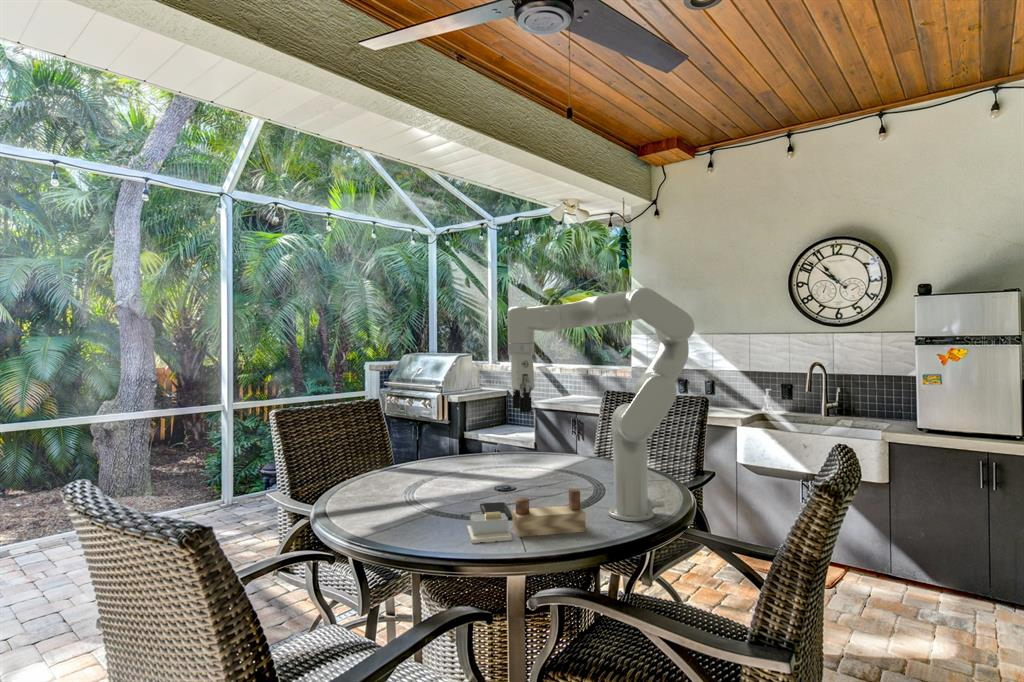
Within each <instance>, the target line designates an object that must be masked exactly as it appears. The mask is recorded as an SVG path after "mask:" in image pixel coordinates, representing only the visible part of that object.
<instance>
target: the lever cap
mask: <svg viewBox="0 0 1024 682" xmlns="http://www.w3.org/2000/svg"><path fill="white" fill-rule="evenodd" d="M469 518H470V519H469V520H470V525H471V531H472V534H473V536H475V535H488V534H500V533H508V531H509V520H508V518H507V517H506V515H505V513H500V511H499V512H485V514H473V515H472V514H471V515H470V517H469ZM470 525H469V526H470Z"/></svg>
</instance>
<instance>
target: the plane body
mask: <svg viewBox="0 0 1024 682" xmlns="http://www.w3.org/2000/svg"><path fill="white" fill-rule="evenodd" d="M511 514H512V530H513V531H514V533H515V535H516V534H517V535H516V536H517V537H518V538H521V537H522V538H523V537H524V536H525V537H534V535H535V537H536V535H537V536H546V535H547V536H548V535H549V534H550V535H559V534H570V533H571V534H573V533H583V532H587V531H586V529H587V528H586V524H587V523H586V512H585V510H583V509H582V508H581V490H579V488H571V489H568V505H559V506H546V507H544V506H543V507H533V508H530V498H528V497H517V498H515V509H512V512H511Z"/></svg>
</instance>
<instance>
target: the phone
mask: <svg viewBox="0 0 1024 682" xmlns="http://www.w3.org/2000/svg"><path fill="white" fill-rule="evenodd" d="M479 509H480V511H481V514H482V513H483V514H485V512H499V511H500V513H505V515H506V517H507V518H508V519H509V520H512V519H513V513H512V512H511V511H510V509H509V507H508V504H507V503H506V502H505V501H504V502H502V501H499V502H497V501H496V502H482V503H480V504H479ZM483 514H482V515H483ZM511 518H512V519H511Z"/></svg>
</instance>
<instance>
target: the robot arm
mask: <svg viewBox="0 0 1024 682" xmlns="http://www.w3.org/2000/svg"><path fill="white" fill-rule="evenodd" d="M506 314H507V315H506V316H507V320H506V321H507V356H511V357H510V358H511V359H510V363H511V364H510V366H511V367H510V371H511V372H510V374H511V375H510V376H511V377H510V379H511V386H512V387H511V388H512V408H513V409H519V413H531V412H532V393H531V392H532V391H533V390H534V389H535V374H534V373H535V371H534V362H533V361H534V359H533V356H534V355H535V331H540V332H543V333H551V332H557V331H561V330H568V329H575V328H576V329H577V328H583V327H584V328H586V327H598V326H604V325H613V324H618V323H625V322H630V321H631V322H632V321H637V320H642V321H643V322H645V324H647V325H649V326H650V327H651V328H653V329H654V330H655V334H656V336H657V338H658V349H657V350H656V353H655V355H654V357H653V358H652V360H651V361H650V363H649V364H648V365H647V367H646V369H645V370H644V371H643V373H642V374H641V375H640V377H639V378H638V380H637V381H636V383H635V384H634V385H635V386H634V394H635V396H634V398H633V399H632V401H631V402H630V403H625V402H624V403H623V404H620V405H619V406H617V407H616V409H614V411H613V413H612V415H611V425H610V426H611V433H612V434H611V435H612V450H613V451H612V452H613V453H612V454H613V455H612V456H613V462H612V464H613V506H611V507H610V508H609V509H608V515H609V516H610V517H611V518H614V519H616V520H621V521H626V522H627V521H628V522H643V521H648V520H652V518H654V517H655V516H654V515H655V512H654V509H655V508H665V501H664V500H662V499H661V500H656V499H650V498H649V482H648V480H649V478H648V475H649V474H648V472H649V471H648V469H649V468H648V458H649V457H648V443H647V440H648V439H649V438H650V437H651V436H652V435H653V434H654V433H655V432H656V430H657V428H658V427H659V426H660V424H661V423H662V421H663V420H664V418H665V417H666V416H667V414H668V412H670V409H671V408H672V407H673V405H674V403H675V401H676V398H677V387H676V384H675V382H676V381H677V380H678V378H679V376H680V374H681V373H682V371H683V369H684V367H685V365H686V364H687V361H688V358H689V354H690V352H689V351H690V349H689V339H690V338H691V336H692V335H693V333H694V331H695V322H694V319H693V317H692V316H691V315H690V314H689V313H688V312H687V311H685V310H684V309H682V308H681V307H679V306H677V305H676V304H675V303H673V302H672V301H670V300H669V299H667V298H666V297H664V296H663V295H661V294H660V293H658V292H656V291H655V290H653V289H652V288H648V287H645V286H644V287H643V286H642V287H639V288H636V289H632V290H631V289H630V290H625V291H619V292H614V293H613V292H612V293H605V294H599V295H594V296H589V297H586V298H584V299H581V300H577V301H574V302H568V303H562V304H556V305H552V304H544V305H543V304H542V305H538V306H526V305H525V306H524V305H521V306H519V305H517V306H511V307H508V309H507V313H506Z"/></svg>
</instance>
